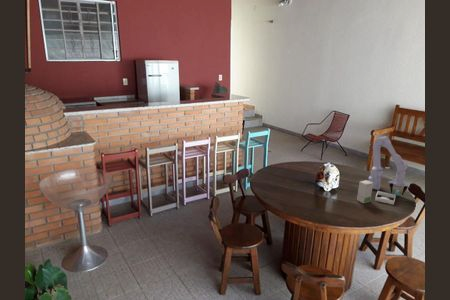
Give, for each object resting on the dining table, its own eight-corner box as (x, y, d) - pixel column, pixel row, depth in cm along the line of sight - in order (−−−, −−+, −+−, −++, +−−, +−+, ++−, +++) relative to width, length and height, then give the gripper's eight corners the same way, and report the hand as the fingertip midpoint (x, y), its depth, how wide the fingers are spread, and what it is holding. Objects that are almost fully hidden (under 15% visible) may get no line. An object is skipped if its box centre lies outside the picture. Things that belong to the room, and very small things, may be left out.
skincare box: (363, 203, 235) (366, 184, 230) (355, 200, 240) (358, 181, 235) (370, 201, 238) (373, 182, 234) (363, 197, 244) (366, 179, 239)
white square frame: (374, 200, 240) (375, 196, 239) (377, 194, 251) (377, 190, 250) (393, 204, 234) (394, 201, 233) (395, 198, 244) (395, 194, 243)
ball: (392, 196, 248) (393, 190, 246) (393, 193, 252) (394, 188, 250) (399, 197, 245) (400, 191, 244) (400, 195, 249) (401, 189, 248)
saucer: (379, 199, 241) (379, 199, 241) (380, 196, 247) (380, 195, 246) (389, 202, 237) (389, 201, 237) (390, 198, 243) (390, 198, 243)
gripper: (389, 177, 244) (386, 193, 248) (410, 181, 237) (407, 197, 241) (389, 174, 250) (387, 190, 254) (410, 178, 243) (407, 194, 247)
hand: (396, 193), depth 248 cm, fingers open, 7 cm apart
